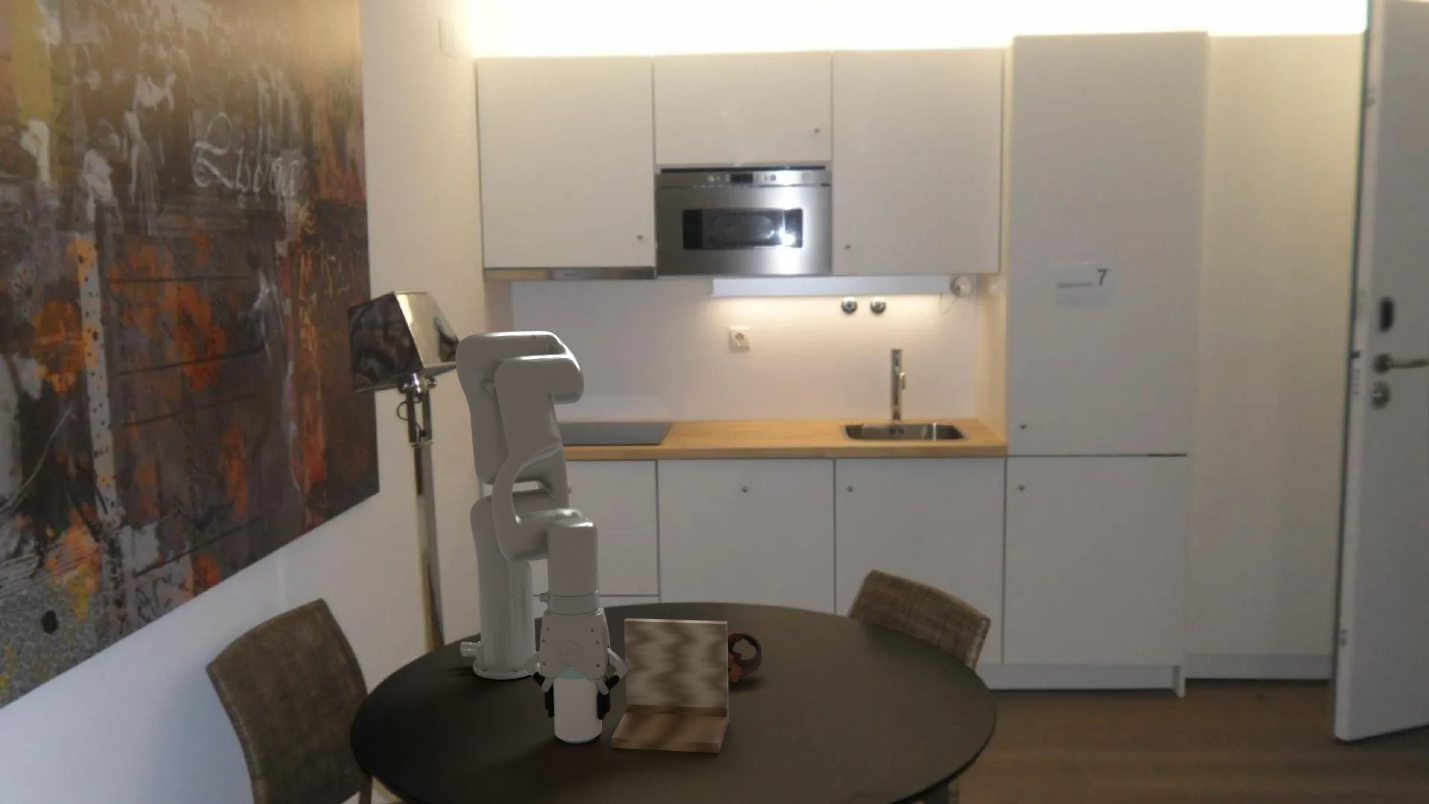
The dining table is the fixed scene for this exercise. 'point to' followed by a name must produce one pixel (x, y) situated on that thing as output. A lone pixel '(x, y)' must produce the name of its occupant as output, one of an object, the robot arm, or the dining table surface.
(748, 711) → the dining table surface
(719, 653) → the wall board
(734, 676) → the vr controller
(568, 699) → the can
